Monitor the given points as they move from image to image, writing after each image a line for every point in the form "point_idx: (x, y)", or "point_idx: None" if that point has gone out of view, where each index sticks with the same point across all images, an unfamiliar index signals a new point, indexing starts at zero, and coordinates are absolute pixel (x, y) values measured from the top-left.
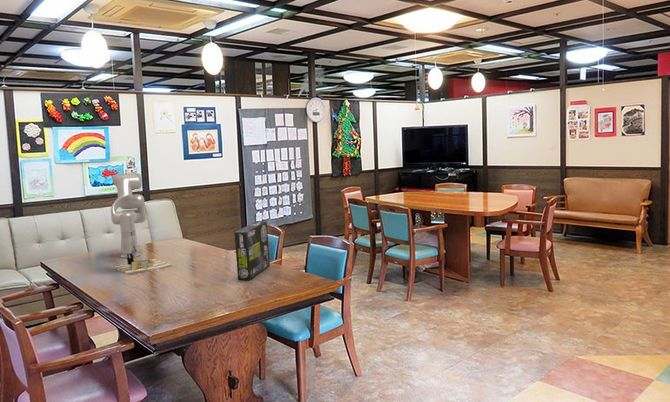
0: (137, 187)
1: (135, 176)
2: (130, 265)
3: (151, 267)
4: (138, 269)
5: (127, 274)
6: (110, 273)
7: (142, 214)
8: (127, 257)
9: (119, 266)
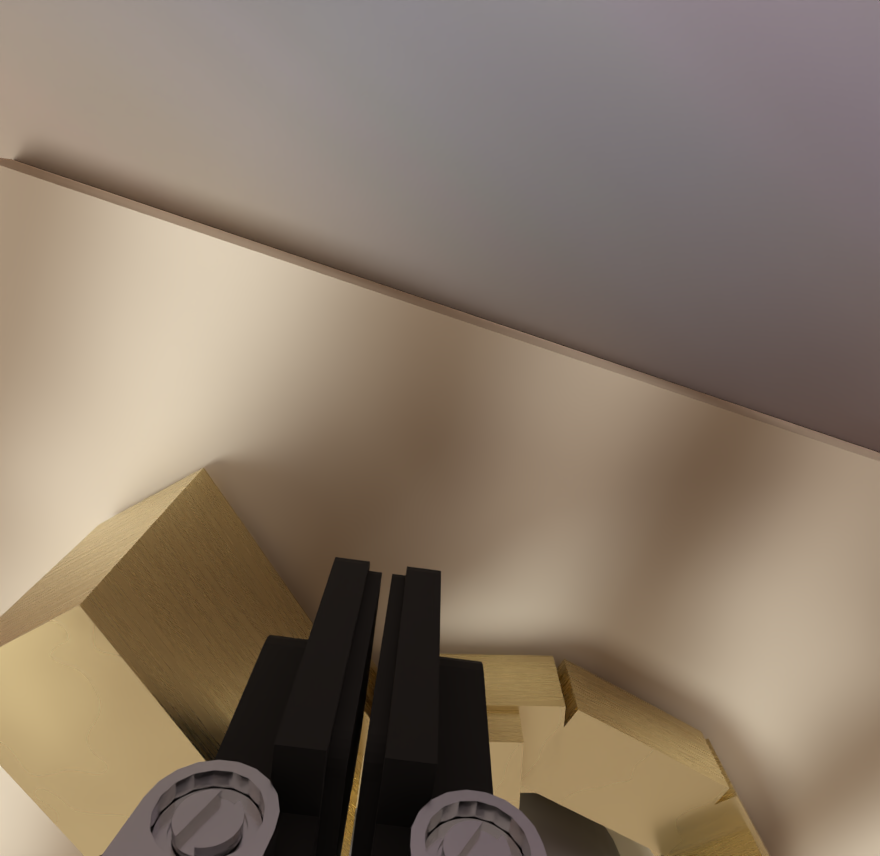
0: None
1: None
2: (570, 699)
3: (32, 851)
4: None
5: (121, 196)
6: (824, 80)
7: None
8: (436, 812)
9: None
